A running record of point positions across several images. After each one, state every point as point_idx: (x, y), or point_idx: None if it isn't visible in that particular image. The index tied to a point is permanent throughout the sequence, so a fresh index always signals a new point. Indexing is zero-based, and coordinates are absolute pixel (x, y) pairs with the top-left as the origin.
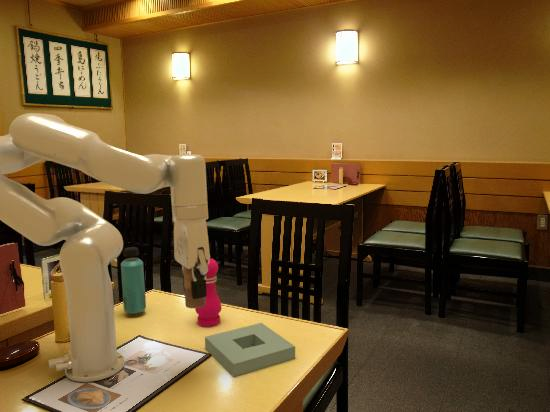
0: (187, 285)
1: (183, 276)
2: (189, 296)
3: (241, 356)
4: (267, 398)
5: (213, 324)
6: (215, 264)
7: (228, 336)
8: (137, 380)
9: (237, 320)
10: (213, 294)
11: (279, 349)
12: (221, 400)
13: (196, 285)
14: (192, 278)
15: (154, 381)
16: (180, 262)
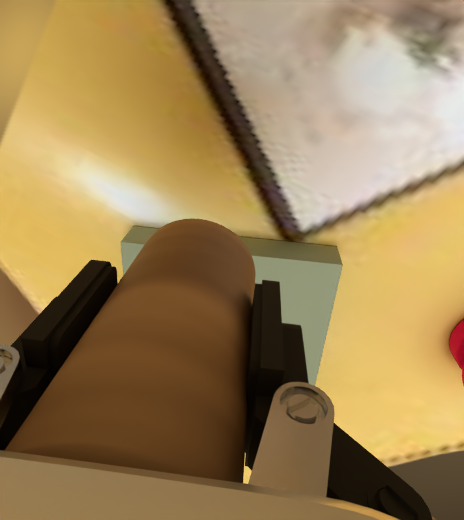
0: (122, 300)
1: (261, 359)
2: (139, 260)
3: None
4: (8, 235)
5: (452, 338)
6: None
7: (290, 317)
8: None
9: (426, 396)
10: None
11: None
12: (40, 140)
13: (19, 338)
14: (7, 367)
15: (241, 2)
16: (73, 493)
